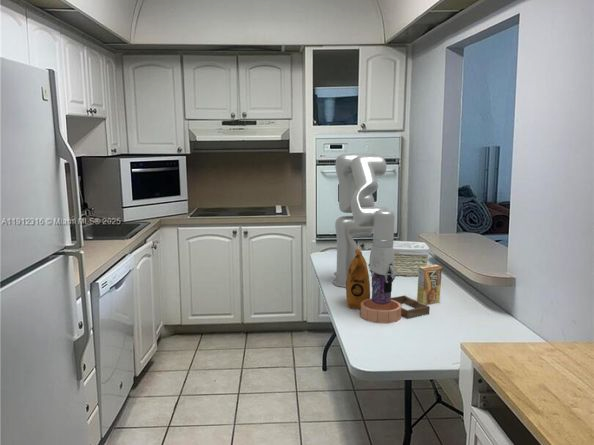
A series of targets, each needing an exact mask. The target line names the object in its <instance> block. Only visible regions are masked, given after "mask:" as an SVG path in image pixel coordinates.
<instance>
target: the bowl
mask: <svg viewBox="0 0 594 445" xmlns="http://www.w3.org/2000/svg"><path fill="white" fill-rule="evenodd" d="M401 308H403V307H402V305H401V304H400V303H399V302H396V301H394V300H391V302H390V303H388V304H384V305H380V304H376V303H375V302H373V301H372V297H370V299H365V300H363V301H362V302H361V306H360V310H359V311H360V312H359V313H360V317H361V319H363V320H365V321H367V322H370V323H371V322H372V323H377V324H391V323H396V322H398V321H400V320H401V318H402V316H401Z"/></svg>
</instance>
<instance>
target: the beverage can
mask: <svg viewBox="0 0 594 445" xmlns="http://www.w3.org/2000/svg"><path fill="white" fill-rule="evenodd" d="M387 274H389V273H387ZM387 277H388V278H389V276H387ZM384 282H385V278H384V276H383V275H380V274H378V273H376V272H374V274H373V278H372V277H371V298H372V301H373V302H375V303H376V304H380V305H384V304H388V303H390V302H391V298H392V291H391V292H388V293H384Z"/></svg>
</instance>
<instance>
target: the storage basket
mask: <svg viewBox="0 0 594 445" xmlns="http://www.w3.org/2000/svg"><path fill="white" fill-rule="evenodd" d="M393 249H394V260H395V267H394V270H395V271H396V273H397V276H405V277H418V276H419V267H421V266H428V258H429V256H430V247H429V246H428V244H427V243H426V242H421V241H408V240H407V241H406V240H405V241H404V240H402V241H401V240H393Z"/></svg>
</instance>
